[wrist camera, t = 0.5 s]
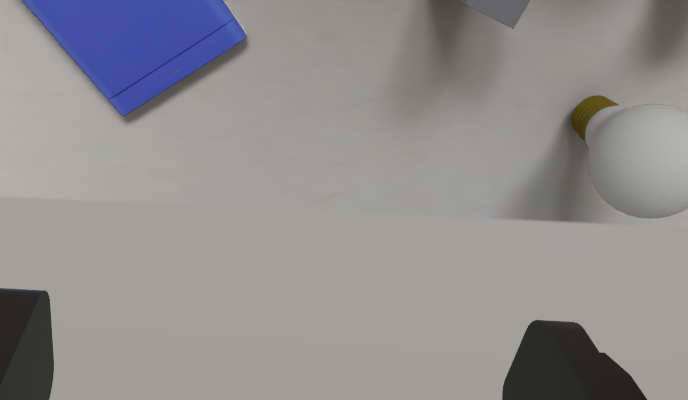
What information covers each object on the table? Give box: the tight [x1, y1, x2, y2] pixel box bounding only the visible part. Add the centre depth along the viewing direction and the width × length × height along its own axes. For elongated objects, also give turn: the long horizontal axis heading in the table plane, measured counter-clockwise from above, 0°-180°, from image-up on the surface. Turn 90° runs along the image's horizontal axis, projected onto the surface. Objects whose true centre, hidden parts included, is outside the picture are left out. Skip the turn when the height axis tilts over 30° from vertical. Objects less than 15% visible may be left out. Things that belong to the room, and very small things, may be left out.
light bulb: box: [572, 96, 688, 218], centre depth 34 cm, size 6×6×10 cm
